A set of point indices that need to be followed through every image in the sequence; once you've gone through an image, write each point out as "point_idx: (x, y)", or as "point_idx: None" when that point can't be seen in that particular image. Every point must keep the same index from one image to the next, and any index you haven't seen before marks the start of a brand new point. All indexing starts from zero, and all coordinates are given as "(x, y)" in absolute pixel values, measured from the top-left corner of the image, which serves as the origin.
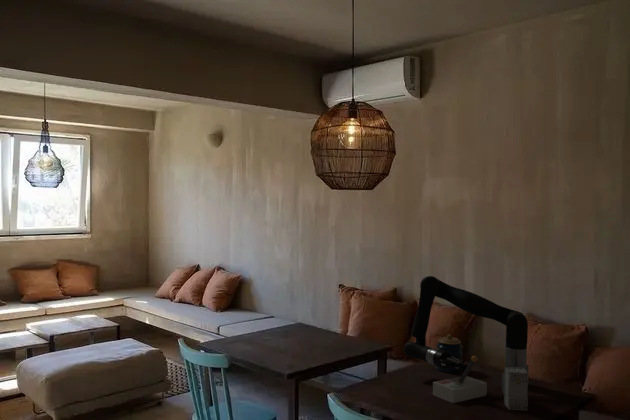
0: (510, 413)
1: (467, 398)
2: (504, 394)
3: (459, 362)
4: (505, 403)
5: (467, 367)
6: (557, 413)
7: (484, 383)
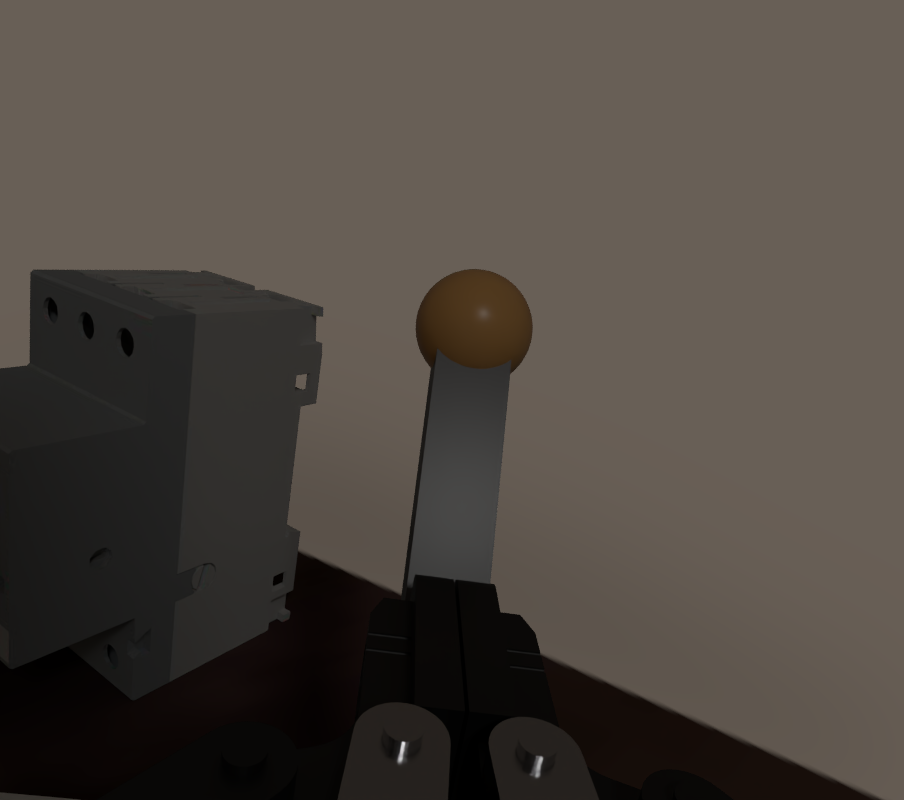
0: (355, 587)
1: None
2: (156, 609)
3: (445, 766)
4: (196, 655)
5: (488, 572)
6: None
7: (30, 796)
